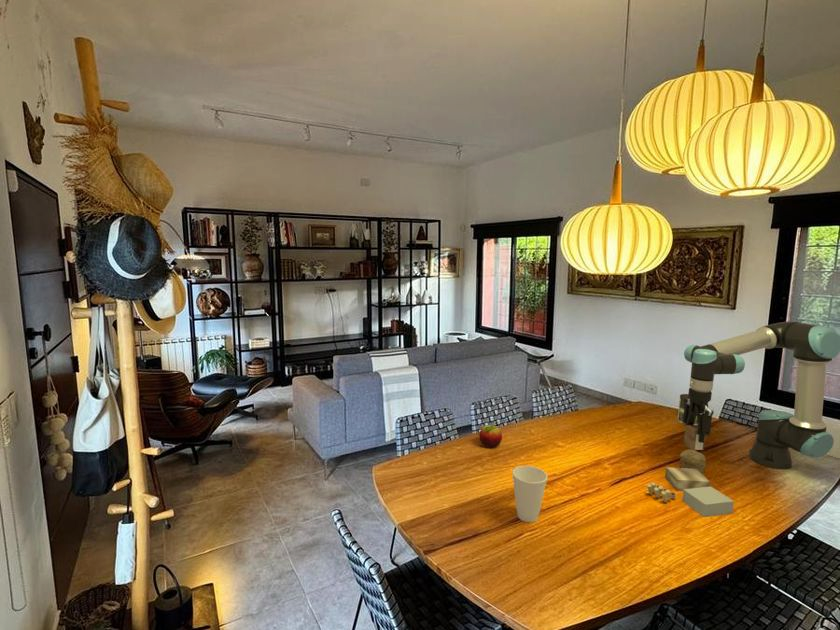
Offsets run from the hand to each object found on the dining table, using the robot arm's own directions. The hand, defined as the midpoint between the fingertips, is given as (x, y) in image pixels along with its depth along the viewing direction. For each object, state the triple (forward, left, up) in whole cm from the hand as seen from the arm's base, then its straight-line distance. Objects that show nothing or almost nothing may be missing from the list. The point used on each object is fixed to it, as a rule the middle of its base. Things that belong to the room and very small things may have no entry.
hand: (693, 445), depth 174 cm
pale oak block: (+1, -1, -17) cm, 17 cm away
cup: (+71, +18, -17) cm, 75 cm away
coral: (-10, -14, -17) cm, 24 cm away
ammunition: (+16, +8, -17) cm, 25 cm away
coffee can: (-42, -65, -17) cm, 79 cm away
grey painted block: (+3, +14, -17) cm, 23 cm away
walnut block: (0, 0, 0) cm, 0 cm away
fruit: (+73, -38, -17) cm, 84 cm away
